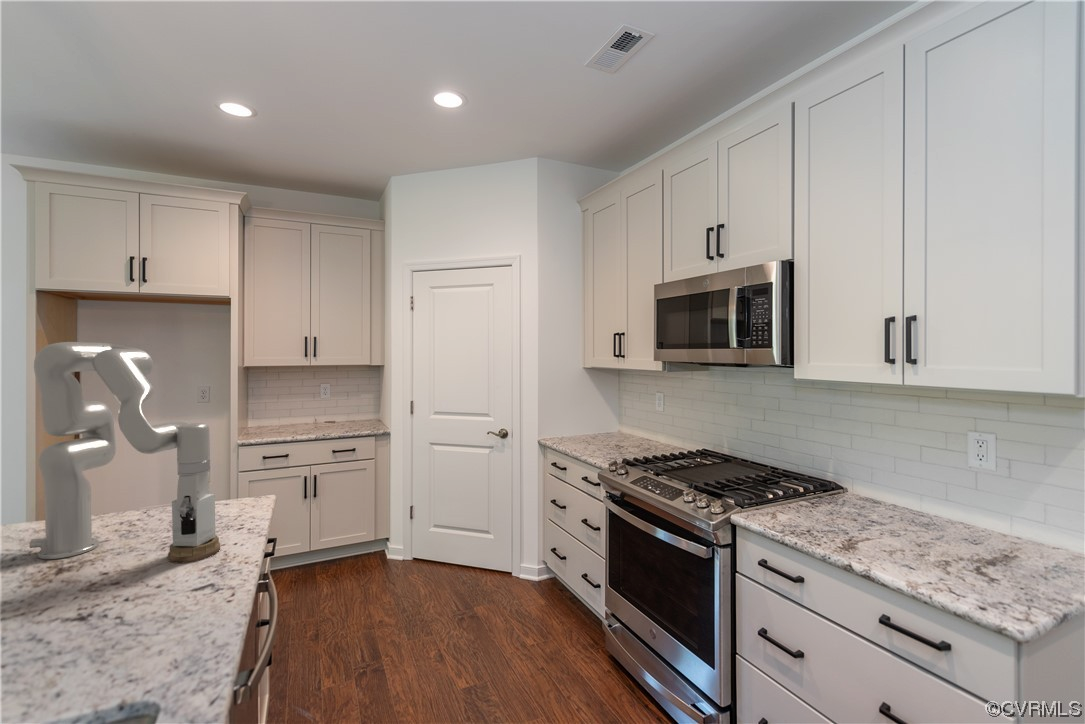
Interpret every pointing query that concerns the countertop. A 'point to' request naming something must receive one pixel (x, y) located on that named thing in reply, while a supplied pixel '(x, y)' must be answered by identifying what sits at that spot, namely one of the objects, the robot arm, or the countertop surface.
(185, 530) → the robot arm
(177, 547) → the coaster tray
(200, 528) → the supplement box
